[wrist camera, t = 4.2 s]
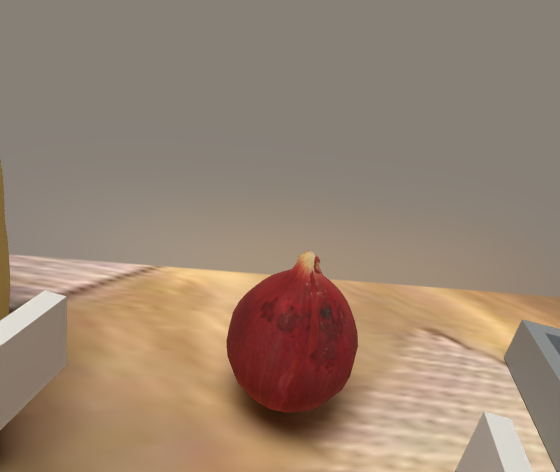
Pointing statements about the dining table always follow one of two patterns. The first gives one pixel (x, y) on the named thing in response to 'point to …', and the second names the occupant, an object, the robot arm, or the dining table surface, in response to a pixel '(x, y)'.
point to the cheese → (3, 258)
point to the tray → (539, 379)
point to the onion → (293, 339)
